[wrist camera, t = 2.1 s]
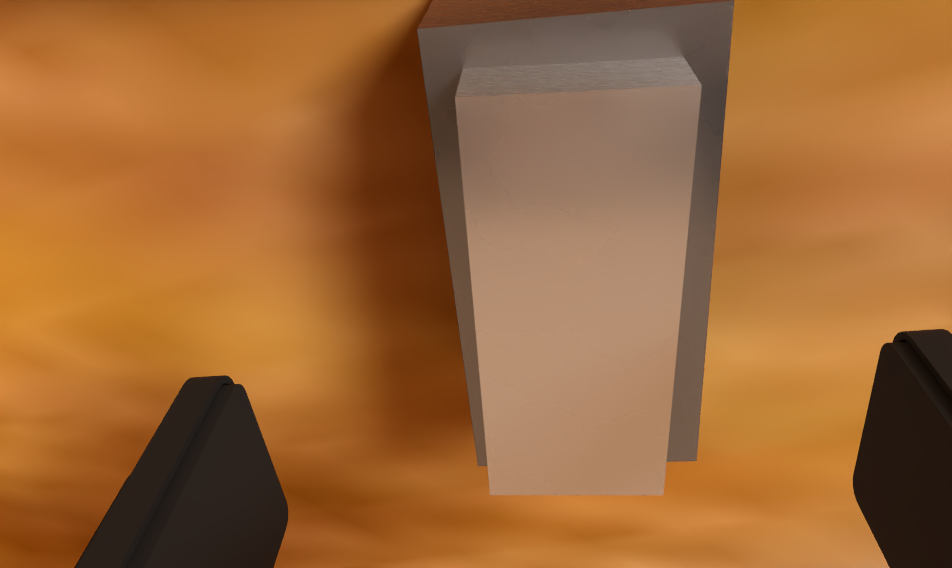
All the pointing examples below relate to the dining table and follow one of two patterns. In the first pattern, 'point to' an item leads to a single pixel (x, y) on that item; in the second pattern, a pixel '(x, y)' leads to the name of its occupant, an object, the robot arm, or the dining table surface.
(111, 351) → the dining table surface
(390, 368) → the dining table surface
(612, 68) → the cover
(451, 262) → the housing base
